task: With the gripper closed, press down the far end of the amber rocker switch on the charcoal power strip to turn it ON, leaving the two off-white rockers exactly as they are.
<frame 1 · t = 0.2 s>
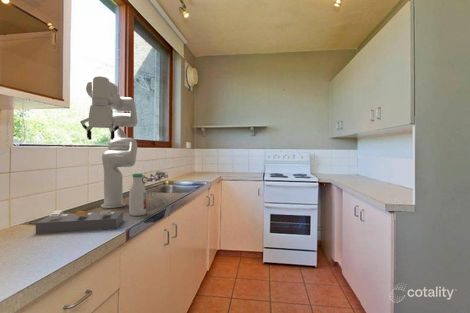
hand: (101, 139, 123), 36 cm above the counter, tool pointing down, fingers open, 9 cm apart
amber rocker: (81, 213, 106), point 6 cm above the counter, hinge at -12.0°
power strip: (83, 226, 107), on the counter
white rocker 1: (56, 214, 103), point 6 cm above the counter, hinge at 12.0°
white rocker 3: (106, 211, 108), point 6 cm above the counter, hinge at -12.0°
milk bottle: (137, 214, 128), on the counter
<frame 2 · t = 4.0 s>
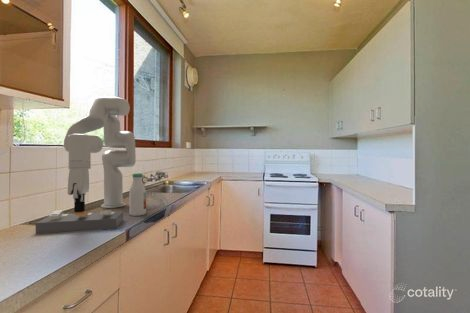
hand: (79, 211, 103), 7 cm above the counter, tool pointing down, fingers closed
amber rocker: (81, 213, 106), point 6 cm above the counter, hinge at -11.3°, touching gripper
everything else where it was.
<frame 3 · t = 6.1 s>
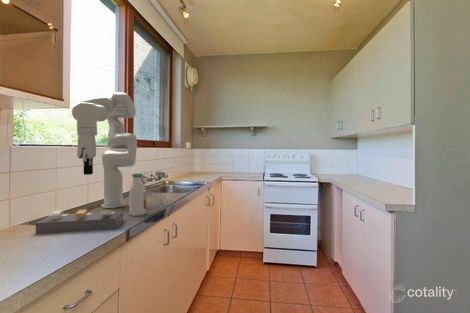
hand: (88, 174, 114), 21 cm above the counter, tool pointing down, fingers closed
amber rocker: (81, 213, 105), point 6 cm above the counter, hinge at 5.4°
everything else where it was.
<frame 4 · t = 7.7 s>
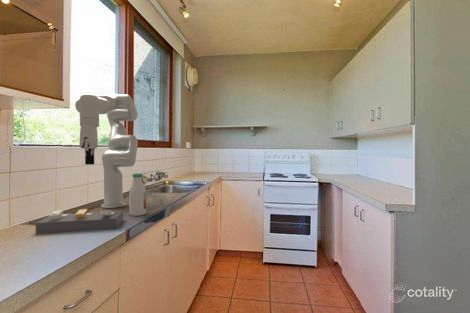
hand: (89, 164, 116), 25 cm above the counter, tool pointing down, fingers closed
amber rocker: (81, 213, 105), point 6 cm above the counter, hinge at 10.9°
everything else where it was.
at the end: amber rocker at +11° (first picture: -12°); white rocker 1 at +12° (first picture: +12°); white rocker 3 at -12° (first picture: -12°) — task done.
